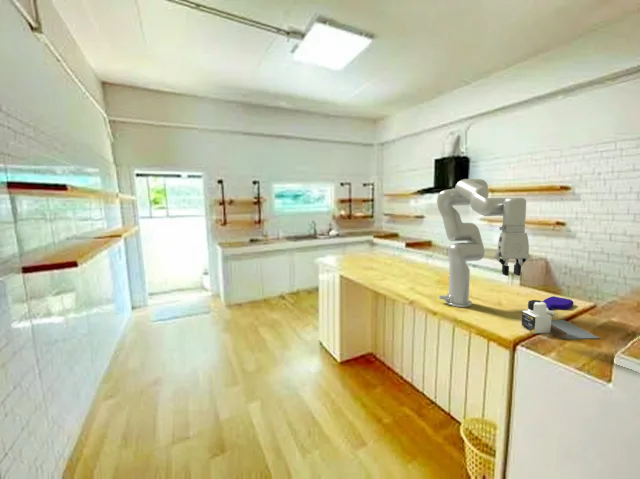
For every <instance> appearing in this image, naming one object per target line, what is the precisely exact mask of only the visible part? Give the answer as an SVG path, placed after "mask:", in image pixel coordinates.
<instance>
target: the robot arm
mask: <svg viewBox="0 0 640 479" xmlns="http://www.w3.org/2000/svg"><path fill="white" fill-rule="evenodd" d="M488 188H489V185H488V183H487V182H486V181H485V179H481V178H463V179H460V180H459V181H457V183H456V184H455V186H454V189H453V188H450V189H444V190H442V191H440V192H439V194H438V195H437V199H436V206H437V209H438V211H439V213H440V216H441V217H442V220H443V224H444V229H445V233H446V237H447V239H448V240H449V241H450V242H454V243H452V244H450V245H449V246H448V248H447V256H448V263H449V270H448V271H449V273H448V274H449V276H448V279H449V280H448V293H446V294H445V295H439V297H438V298H439V300H443V301H445V303H446V304H447V305H449V306H452V307H455V308H456V307H457V308H468V307H472V305H473V302H472V300H470V277H471V275H470V274H471V273H470V272H471V271H470V268H469V266H468V264H467V263H466V262H477V261H482V259H483V258H484V256H485V247H484V246H485V245H484V244H483V240H482V235H481V232H480V230H479V227H478V226H477V224H474V223H473V222H463V221H462V219H461V218H462V217H461V215H460V213H459V211H458V210H457V209H456V208H454V206H468V205H470V208H471V209H472V210H473V211H474V212H476V213H477V214H479V215H481V216H484V217H497V216H498V217H502V225H501V226H499V228H498V229H499V230H500V231H501V232H500V235H499V236H498V242H497V252H496V253H495V255H494V256H493V259H495V260H496V261H498V262H499V263H500V265H502V266H501V274H502V275H504V276H506V277H507V276H509V275H510V266H509V265H508V264H509V261H510V260H511V259H512V260H513V259H515V264H514V265H513V274H514V275H515V276H518V277H519V276H521V272H522V266H523V265H524V263H525V262H526V261H528V260H529V259H531V255H530V250H529V249H530V245H529V238H528V237H529V236H528V233H527V232H525V231H526V216H527V200H526V198H525V197H489V193H490V192H489V189H488Z"/></svg>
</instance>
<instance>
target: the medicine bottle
mask: <svg viewBox="0 0 640 479" xmlns="http://www.w3.org/2000/svg"><path fill="white" fill-rule="evenodd" d="M543 301H544V300H539V299H538V300H537V299H532V300H528V304H527V310H522V311H521V312H522V313H521V316H522V317H521V328H523V329H525V330H527V331H529V332H530V333H532V334H549V333H550V334H551V320H552V316H553V315H551V314H546V303H545V302H543Z"/></svg>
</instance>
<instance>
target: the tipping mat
mask: <svg viewBox="0 0 640 479" xmlns="http://www.w3.org/2000/svg"><path fill="white" fill-rule="evenodd" d="M550 334H552V335H554V336H556V337H557V338H558V339H561V340H600V339H601V338H600V337H599V336H597V335H596V334H593V333H591V332H589V331H587V330H585V329H583V328H581V327H579V326H577V325H575V324H573V323H571V322H570V321H567V320H565V319H551V332H550Z"/></svg>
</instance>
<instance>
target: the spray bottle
mask: <svg viewBox="0 0 640 479" xmlns="http://www.w3.org/2000/svg"><path fill="white" fill-rule="evenodd" d="M542 301H543V302H545V303H546V314H549V315H551V316H555V313H557V310H559V311H561V310H562V311H563V310H565V311H566V310H569V309H570V308H572V307H573V306H574V301H573V300H572V299H570V298H563V297H559V296H554V295H553V296H550V297H548V298H545V299H544V300H542Z"/></svg>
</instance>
